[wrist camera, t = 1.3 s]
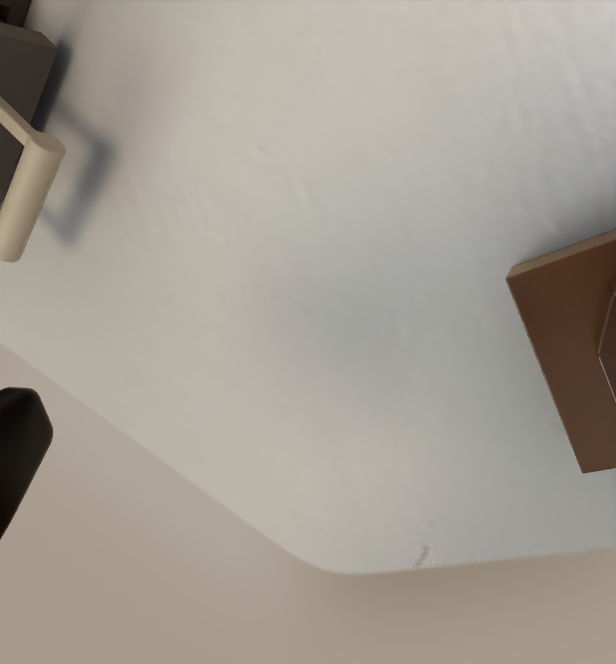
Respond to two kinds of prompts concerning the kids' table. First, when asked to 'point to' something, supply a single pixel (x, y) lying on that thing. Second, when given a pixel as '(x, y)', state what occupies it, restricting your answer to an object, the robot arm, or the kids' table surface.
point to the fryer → (13, 11)
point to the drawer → (23, 135)
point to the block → (575, 339)
